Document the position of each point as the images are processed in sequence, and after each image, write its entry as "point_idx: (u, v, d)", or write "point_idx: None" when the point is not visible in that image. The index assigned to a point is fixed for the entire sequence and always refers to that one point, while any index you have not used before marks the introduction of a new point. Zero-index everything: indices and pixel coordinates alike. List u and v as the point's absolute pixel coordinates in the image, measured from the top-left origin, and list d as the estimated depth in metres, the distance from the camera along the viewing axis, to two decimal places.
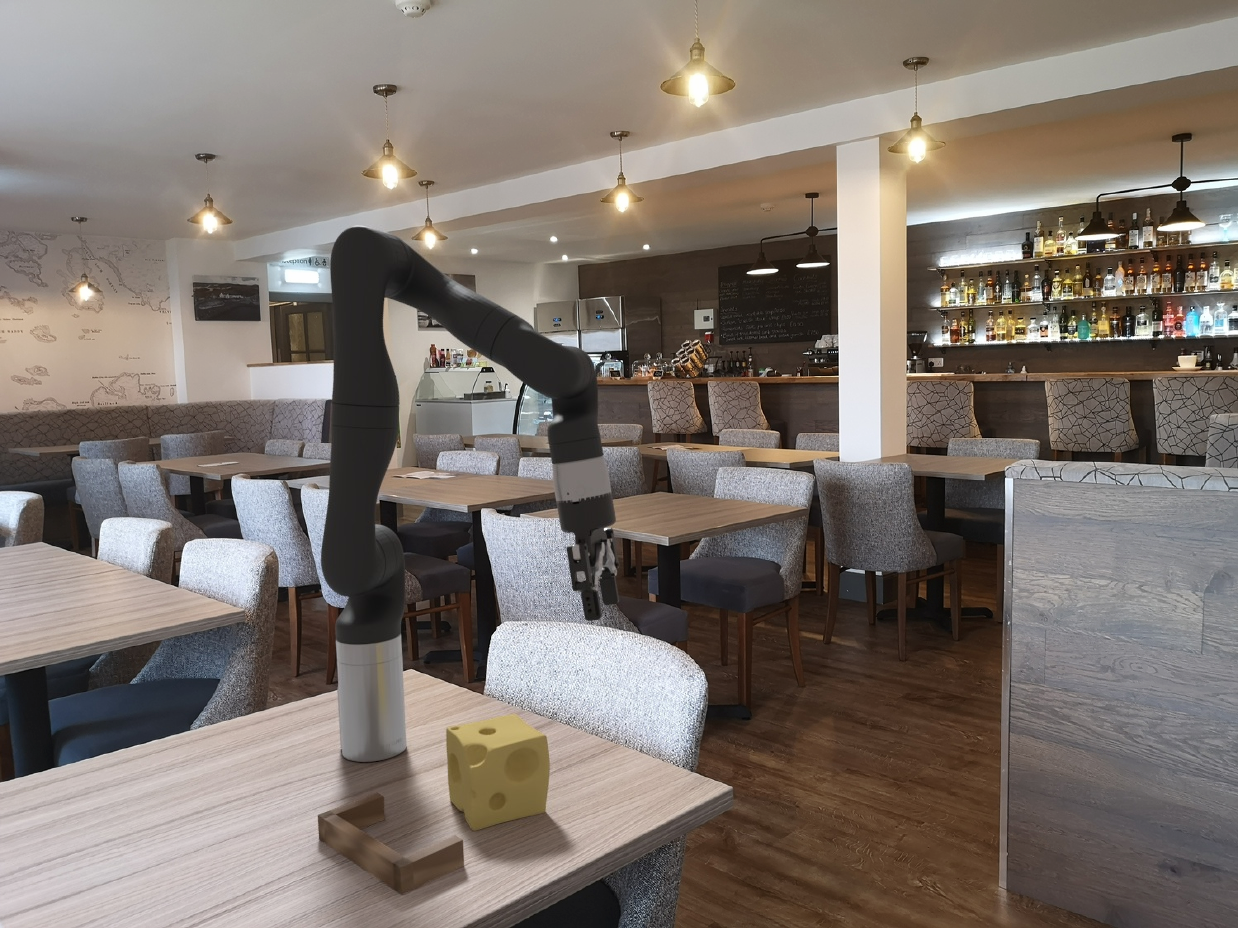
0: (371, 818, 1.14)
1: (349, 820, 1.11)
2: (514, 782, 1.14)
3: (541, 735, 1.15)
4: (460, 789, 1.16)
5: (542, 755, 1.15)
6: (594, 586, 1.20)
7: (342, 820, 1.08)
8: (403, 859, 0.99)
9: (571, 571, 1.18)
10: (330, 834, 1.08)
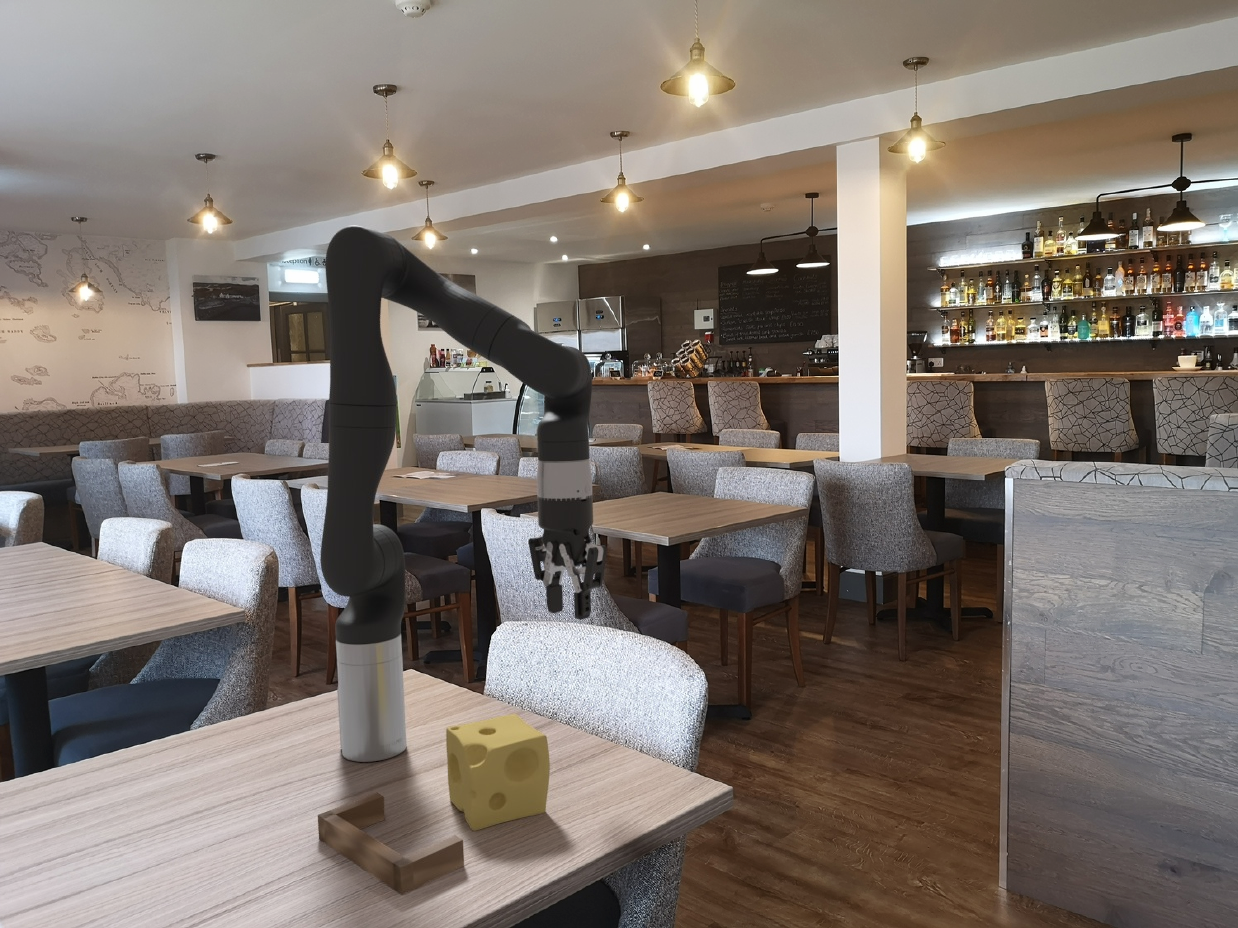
0: (371, 818, 1.14)
1: (349, 820, 1.11)
2: (514, 782, 1.14)
3: (541, 735, 1.15)
4: (460, 789, 1.16)
5: (542, 755, 1.15)
6: None
7: (342, 820, 1.08)
8: (403, 859, 0.99)
9: (592, 572, 1.23)
10: (330, 834, 1.08)
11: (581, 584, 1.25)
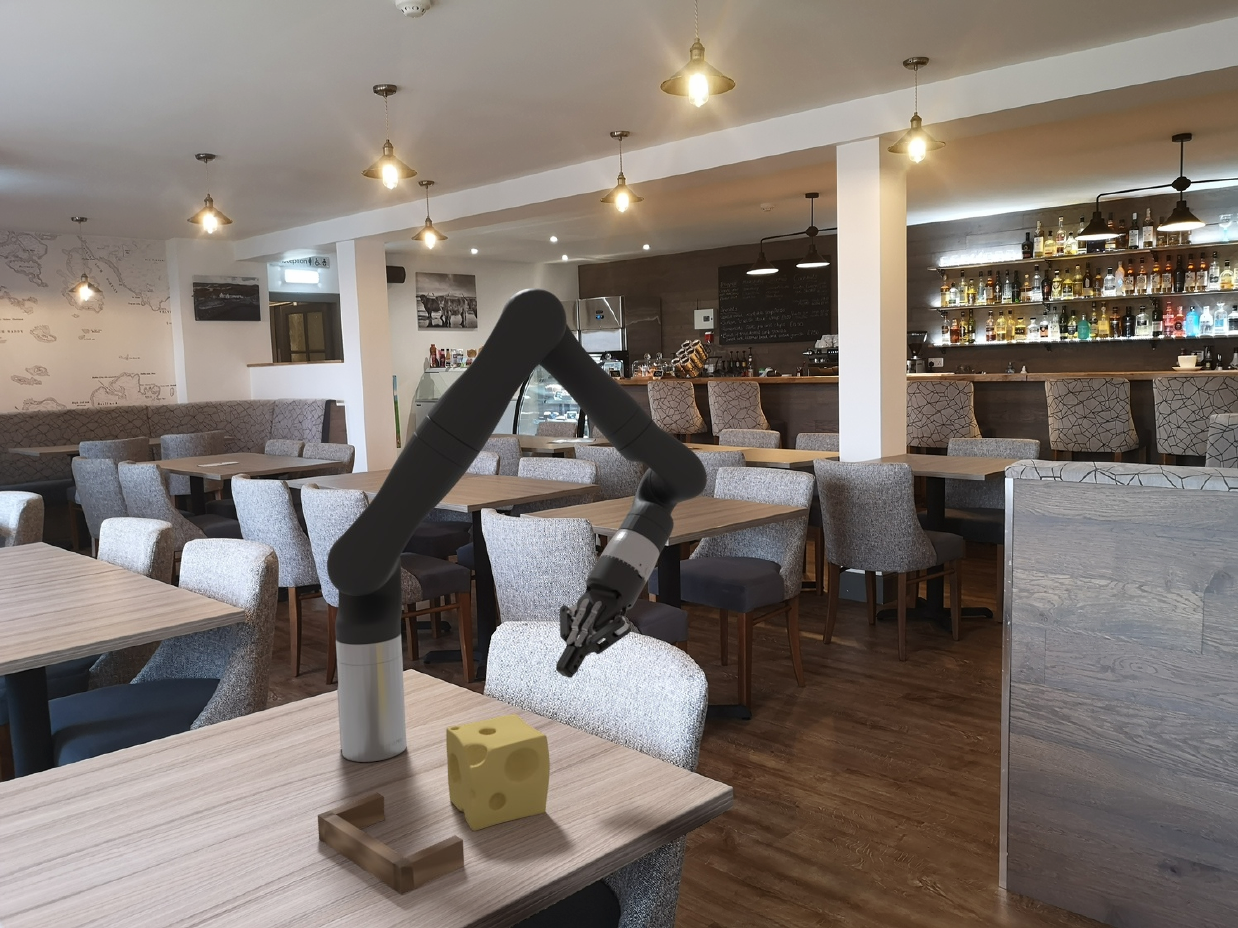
0: (371, 818, 1.14)
1: (349, 820, 1.11)
2: (514, 782, 1.14)
3: (541, 735, 1.15)
4: (460, 789, 1.16)
5: (542, 755, 1.15)
6: None
7: (342, 820, 1.08)
8: (403, 859, 0.99)
9: (603, 636, 1.24)
10: (330, 834, 1.08)
11: None
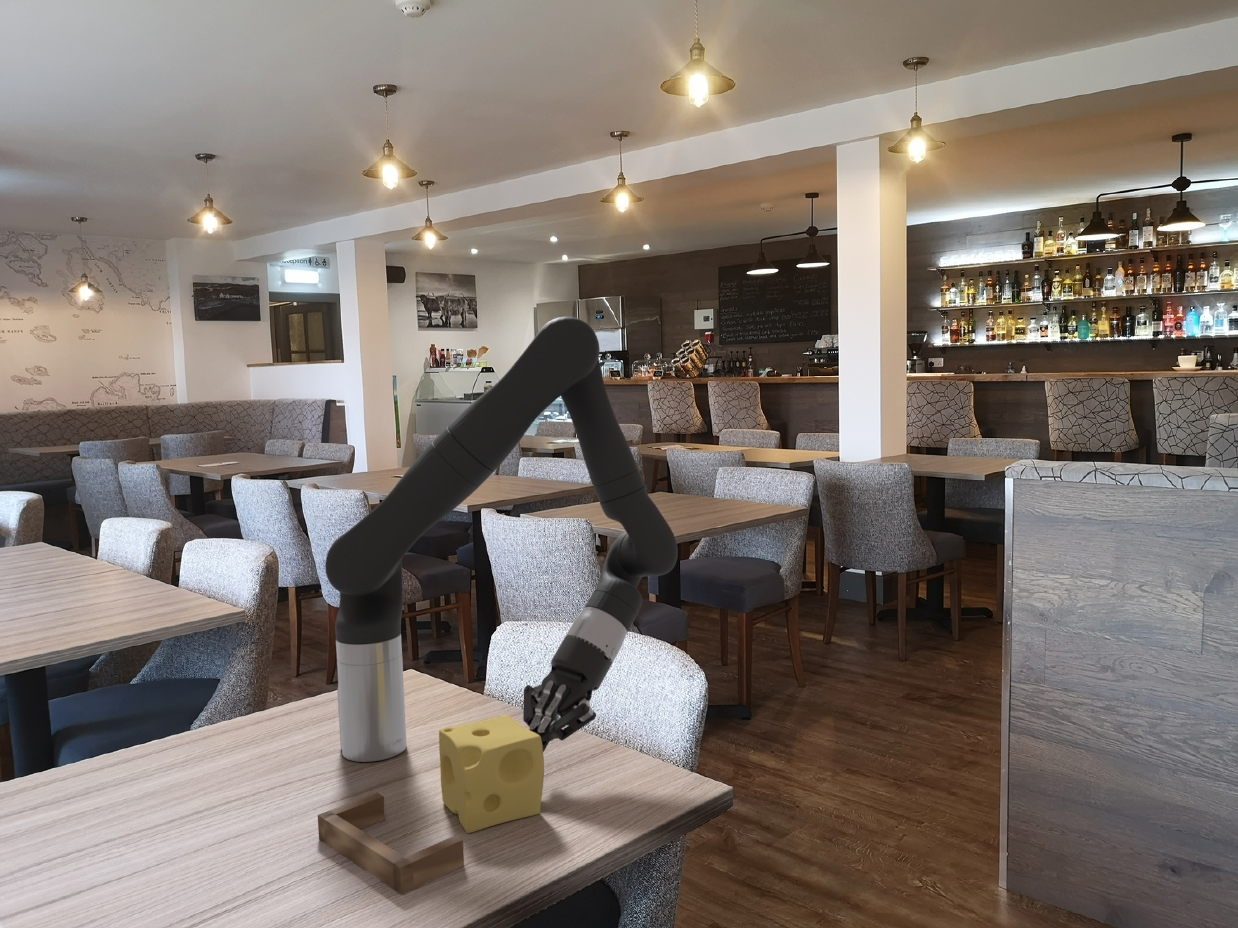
0: (371, 818, 1.14)
1: (349, 820, 1.11)
2: (508, 783, 1.13)
3: (536, 736, 1.14)
4: (454, 791, 1.15)
5: (536, 756, 1.14)
6: None
7: (342, 820, 1.08)
8: (403, 859, 0.99)
9: (567, 722, 1.20)
10: (330, 834, 1.08)
11: None
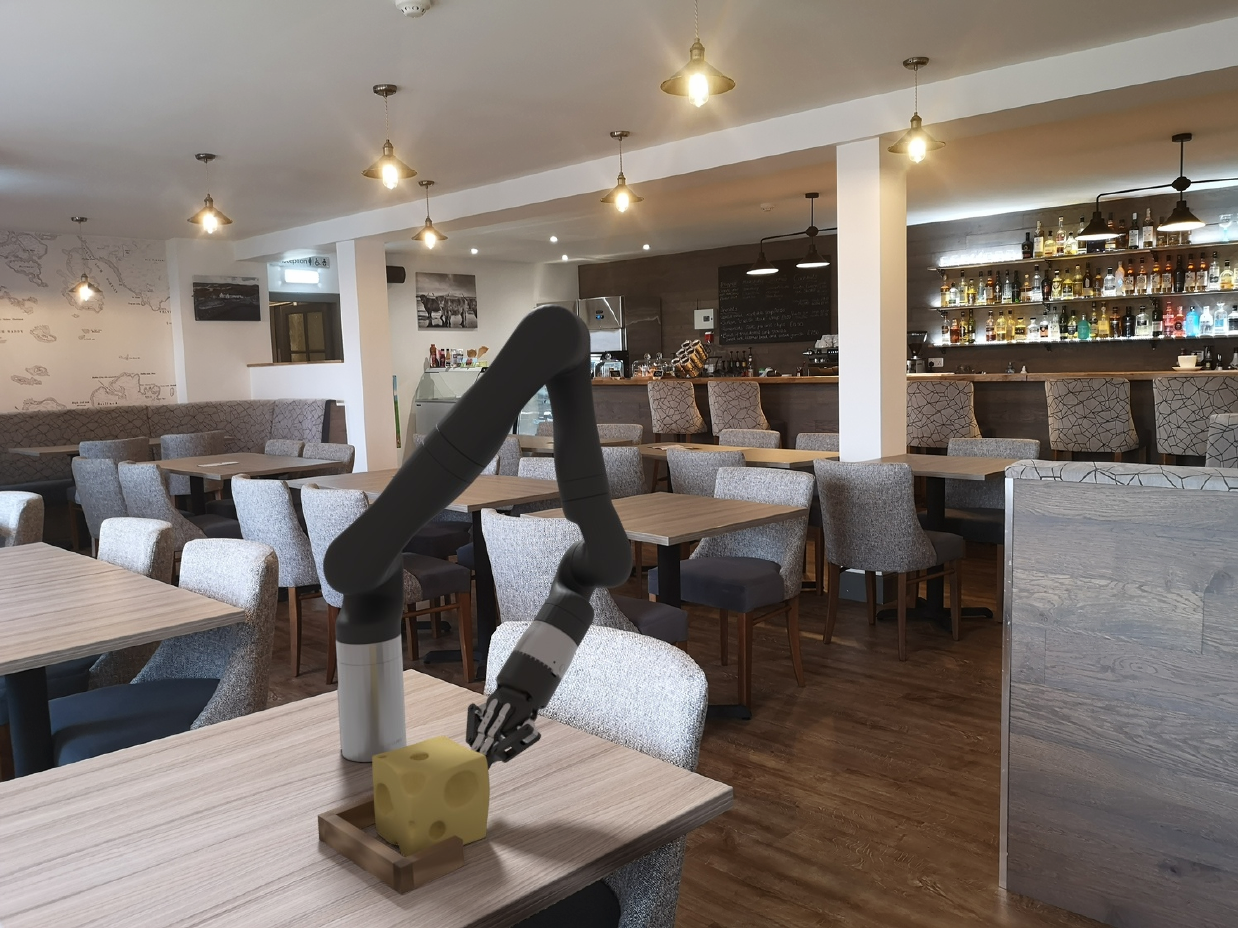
0: (371, 818, 1.14)
1: (349, 820, 1.11)
2: (454, 808, 1.07)
3: (481, 756, 1.09)
4: (393, 821, 1.07)
5: (482, 777, 1.09)
6: None
7: (342, 820, 1.08)
8: (403, 859, 0.99)
9: (510, 744, 1.13)
10: (330, 834, 1.08)
11: None
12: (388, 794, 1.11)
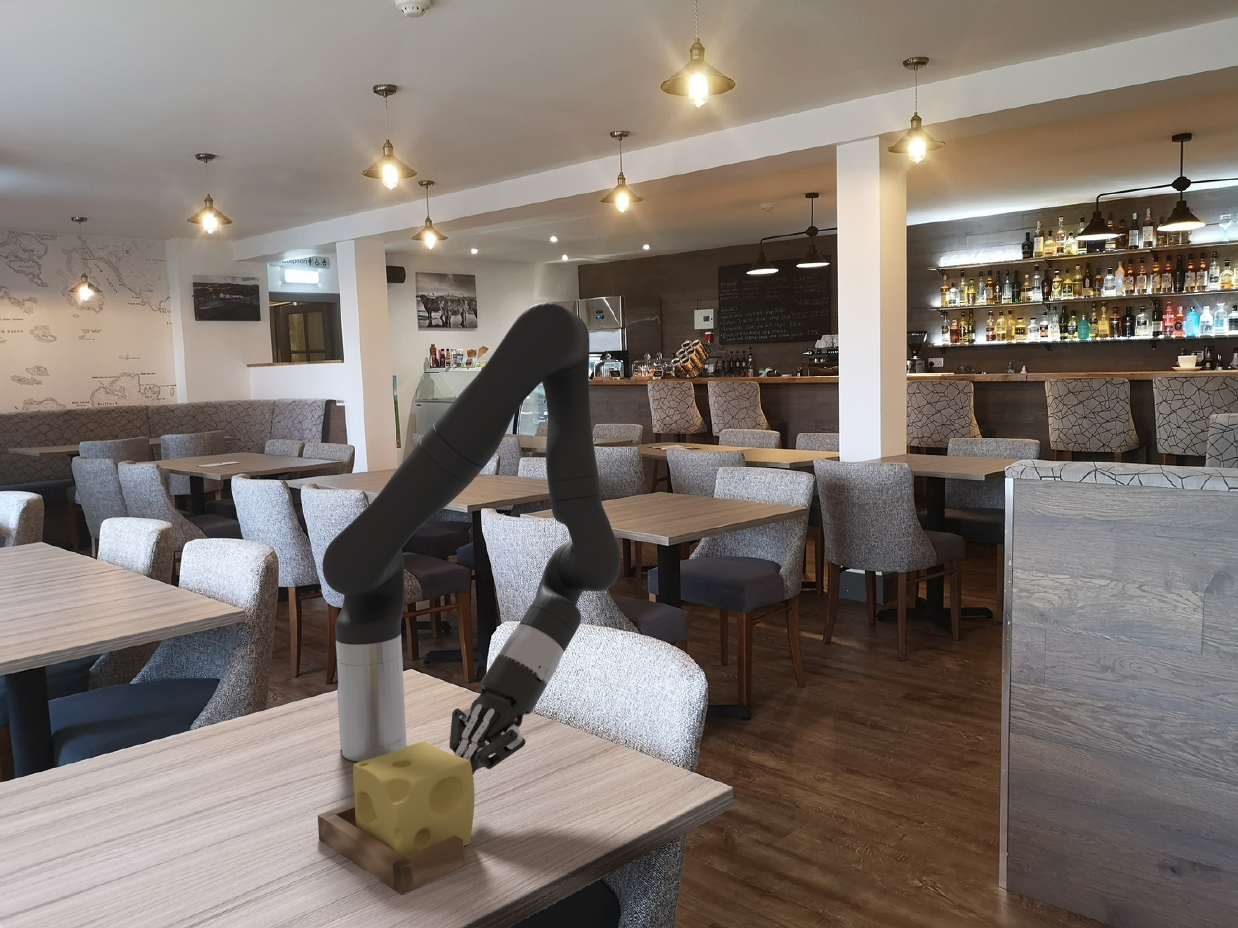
0: None
1: (349, 820, 1.11)
2: (439, 815, 1.05)
3: (466, 761, 1.07)
4: (376, 830, 1.05)
5: (467, 782, 1.07)
6: None
7: (342, 820, 1.08)
8: (403, 859, 0.99)
9: (493, 750, 1.12)
10: (330, 834, 1.08)
11: None
12: (369, 803, 1.09)
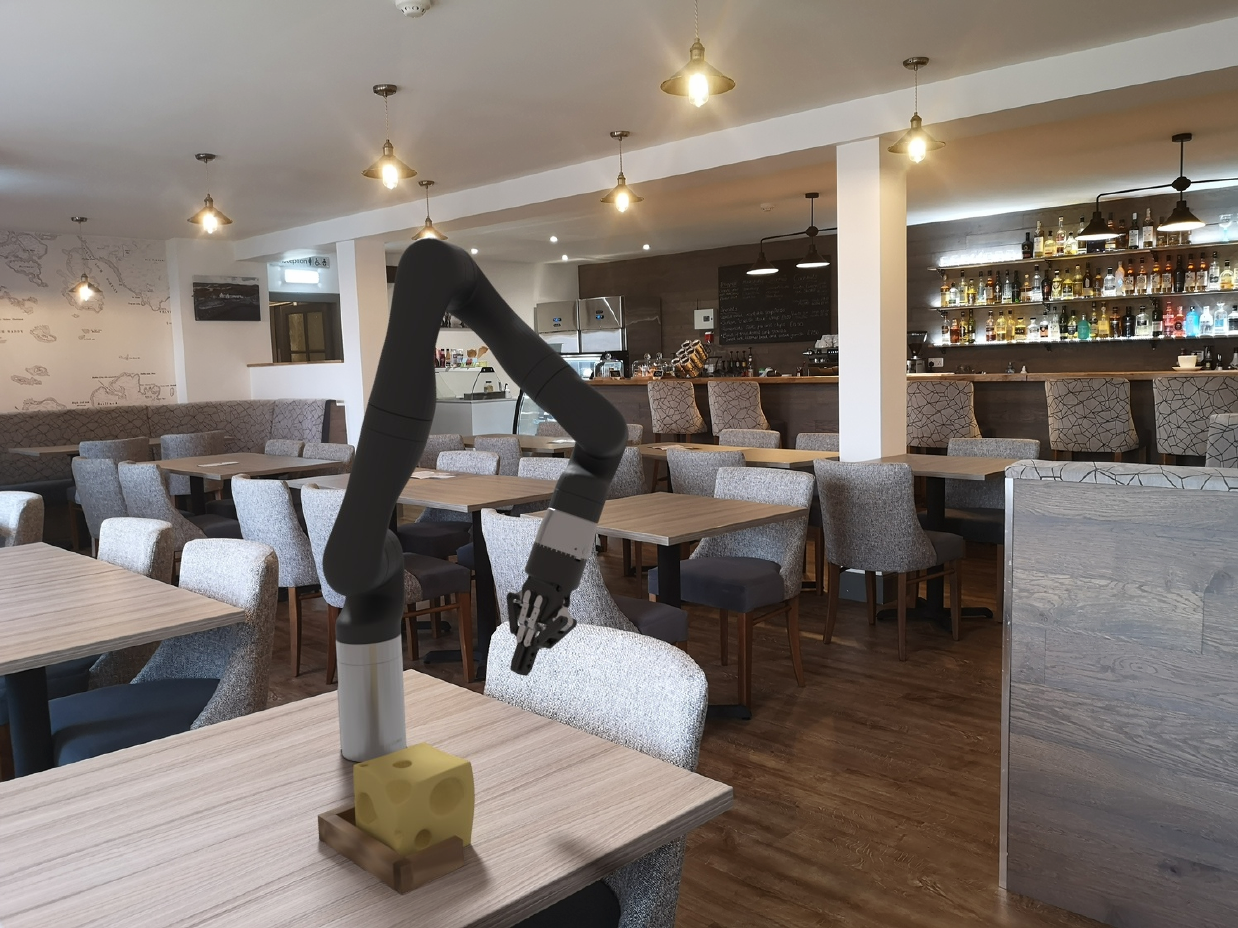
0: None
1: (349, 820, 1.11)
2: (439, 815, 1.05)
3: (466, 762, 1.07)
4: (376, 831, 1.05)
5: (467, 783, 1.07)
6: None
7: (342, 820, 1.08)
8: (403, 859, 0.99)
9: (549, 636, 1.19)
10: (330, 834, 1.08)
11: None
12: (370, 803, 1.09)
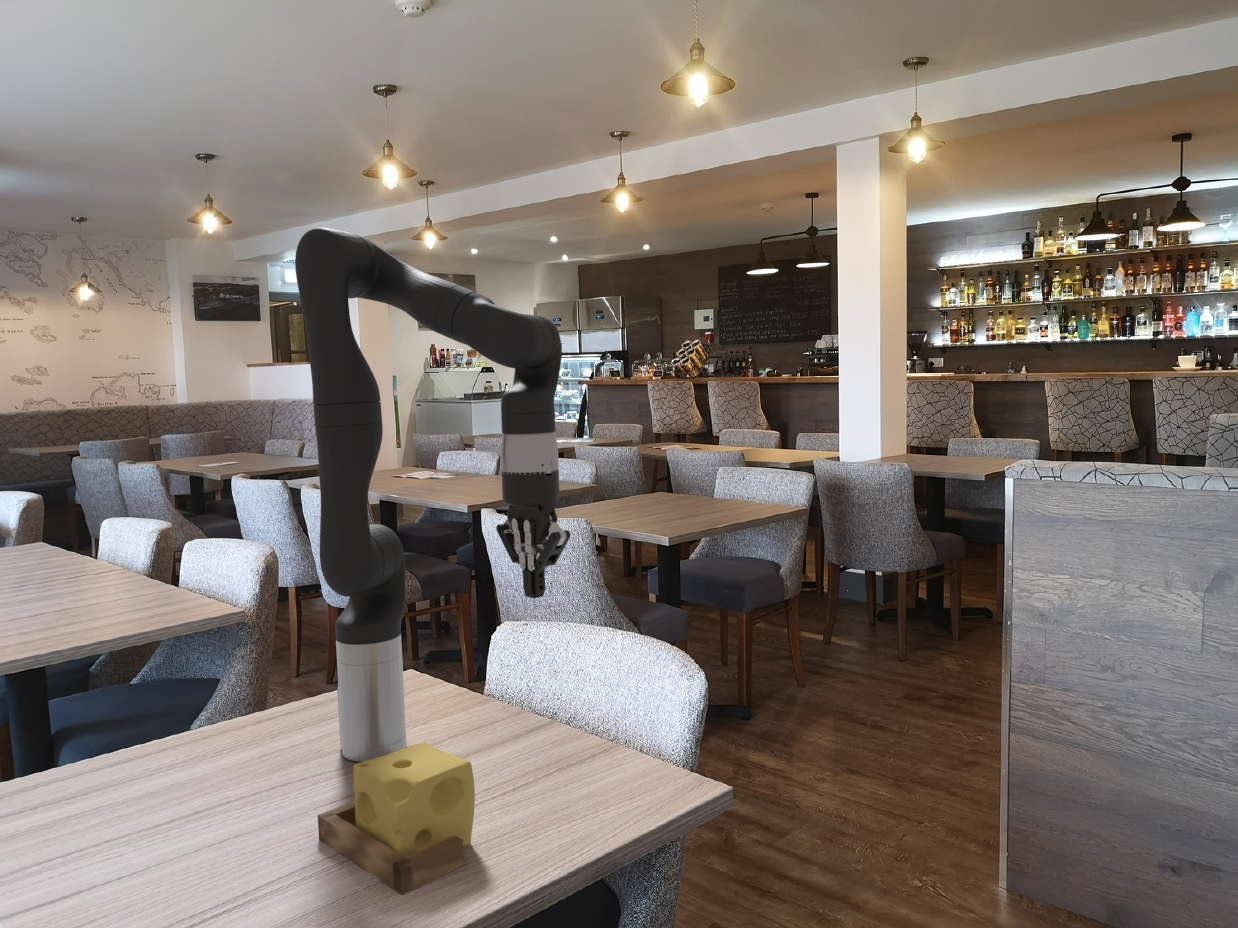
0: None
1: (349, 820, 1.11)
2: (439, 815, 1.05)
3: (466, 762, 1.07)
4: (376, 831, 1.05)
5: (467, 783, 1.07)
6: None
7: (342, 820, 1.08)
8: (403, 859, 0.99)
9: (548, 555, 1.19)
10: (330, 834, 1.08)
11: None
12: (370, 803, 1.09)
